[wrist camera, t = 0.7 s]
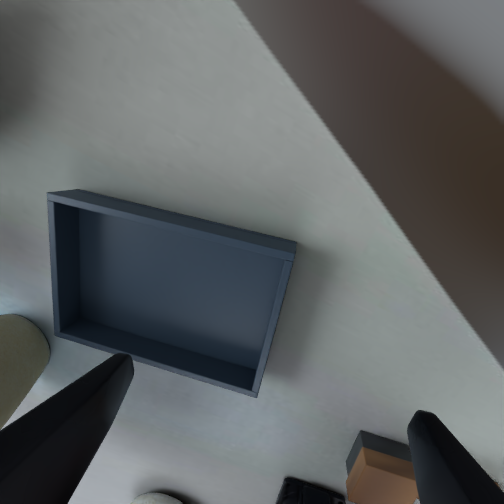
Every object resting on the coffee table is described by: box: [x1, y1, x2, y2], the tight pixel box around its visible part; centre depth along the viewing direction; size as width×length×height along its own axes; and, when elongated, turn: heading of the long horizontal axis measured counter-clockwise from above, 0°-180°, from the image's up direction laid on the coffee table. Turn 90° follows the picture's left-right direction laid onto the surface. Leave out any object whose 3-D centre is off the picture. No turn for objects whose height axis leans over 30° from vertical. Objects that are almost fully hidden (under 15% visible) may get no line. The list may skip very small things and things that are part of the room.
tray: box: [47, 189, 297, 398], centre depth 23 cm, size 13×19×3 cm
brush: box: [346, 431, 500, 504], centre depth 24 cm, size 13×5×3 cm, turn 79°
